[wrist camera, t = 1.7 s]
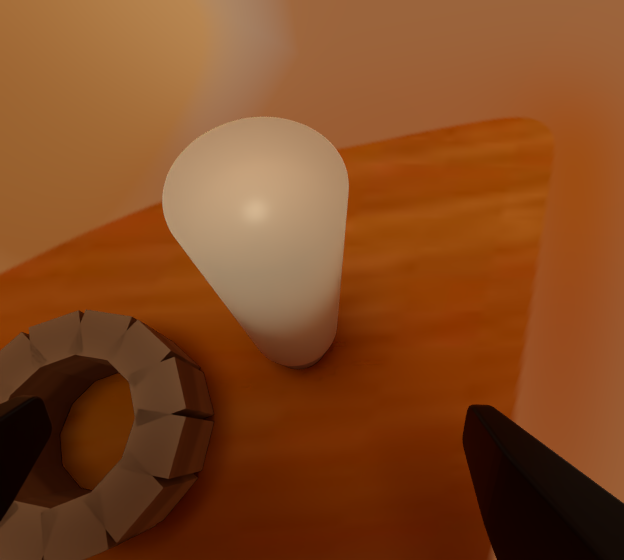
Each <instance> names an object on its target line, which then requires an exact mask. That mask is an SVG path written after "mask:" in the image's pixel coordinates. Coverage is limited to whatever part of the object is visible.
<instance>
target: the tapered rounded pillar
mask: <svg viewBox="0 0 624 560" xmlns="http://www.w3.org/2000/svg"><path fill="white" fill-rule="evenodd" d="M348 189H349V183H348V175H347V171H346V167H345V164H344V162H343V160H342V158H341V156H340V154H339V153H338V151H337V150H336V148H335V147H334V146H333V145H332V144H331V143H330V141H328V140H327V139H326V138H325V137H324V136H323V135H321V134H320V133H318V132H317V131H315V130H314V129H312V128H310V127H308V126H306V125H304V124H301V123H298V122H296V121H292V120H288V119H283V118H276V117H251V118H244V119H239V120H235V121H231V122H228V123H225V124H223V125H220V126H218V127H216V128H213V129H211V130H209V131H208V132H206V133H204V134H203V135H201V136H200V137H198V138H197V139H196V140H194V141H193V142H192V143H191V144H189V145H188V146H187V147H186V148H185V149H184V150H183V151H182V153H181V154H180V155H179V156H178V158H177V159H176V160H175V162H174V163H173V165H172V167H171V169H170V171H169V173H168V175H167V177H166V181H165V184H164V188H163V195H162V206H163V212H164V217H165V220H166V223H167V225H168V227H169V229H170V231H171V233H172V235H173V236H174V237H175V239H176V240H177V241H178V243H179V244H180V245H181V247H182V248H183V249H184V251H185V252H186V253H187V254H188V256H189V257H190V258H191V260H192V261H193V262H194V264H195V265H196V266H197V268H198V269H199V270H200V272H201V273H202V274H203V276H204V277H205V278H206V280H207V281H208V282H209V284H210V285H211V286H212V288H213V289H214V290H215V292H216V293H217V294H218V296H219V297H220V298H221V300H222V301H223V302H224V304H225V305H226V306H227V308H228V309H229V310H230V312H231V313H232V314H233V316H234V317H235V318H236V320H237V321H238V322H239V324H240V325H241V326H242V328H243V329H244V330H245V332H246V333H247V334H248V336H249V337H250V338H251V340H252V341H253V342H254V344H255V345H256V346H257V348H258V349H259V350H260V352H261V353H262V354H263V355H264V356H266V357H267V358H268V359H270V360H271V361H273V362H275V363H278V364H281V365H284V366H286V367H288V368H292V369H304V368H307V367H310V366H312V365H314V364H316V363H317V362H318V361H319V360H320V359H321V358H322V357H323V355H324V354H325V352H326V351H327V350H328V349H329V347H330V346H331V344H332V342H333V340H334V338H335V335H336V331H337V322H338V310H339V298H340V286H341V274H342V262H343V250H344V238H345V226H346V214H347V202H348Z"/></svg>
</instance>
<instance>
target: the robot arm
mask: <svg viewBox="0 0 624 560" xmlns="http://www.w3.org/2000/svg"><path fill="white" fill-rule="evenodd" d="M51 434H52V423H51V420H50V417H49V414H48V411H47V408H46V406H45V403H44V400H43V399H42V398H41V397H39V396H28V395H22V396H17V397H14V398H12V399H10V400H8V401H6V402H3V403H1V404H0V522H1V520H2V519H3V517H4V516H5V514H6V513H7V511H8V510H9V508H10V506H11V505H12V503H13V501H14V500H15V498H16V496H17V495H18V493H19V491H20V489H21V488H22V486H23V484H24V482H25V481H26V479H27V477H28V475H29V474H30V472H31V470H32V468H33V467H34V465H35V463H36V461H37V460H38V458H39V456H40V454H41V453H42V451H43V449H44V447H45V446H46V444H47V442H48V440H49V439H50V437H51ZM463 447H464V451H465V455H466V459H467V463H468V466H469V470H470V474H471V478H472V481H473V485H474V489H475V493H476V496H477V500H478V504H479V508H480V511H481V515H482V518H483V522H484V525H485V528H486V531H487V534H488V537H489V540H490V542H491V545H492V548H493V550H494V553H495V556H496V558H497V560H624V503H622V502H621V501H620V500H618V499H617V498H616V497H614V496H613V495H611V494H610V493H609V492H607V491H606V490H605V489H603V488H602V487H601V486H599V485H598V484H597V483H595V482H594V481H593V480H591V479H590V478H589V477H587V476H586V475H584V474H583V473H582V472H580V471H579V470H578V469H576V468H575V467H574V466H572V465H571V464H570V463H568V462H567V461H565V460H564V459H563V458H562V457H560V456H559V455H558V454H556V453H555V452H553V451H552V450H551V449H549V448H548V447H546V446H545V445H544V444H543V443H541V442H540V441H539V440H537V439H536V438H534V437H533V436H532V435H530V434H529V433H528V432H526V431H525V430H524V429H522V428H521V427H520V426H518V425H517V424H516V423H514V422H513V421H512V420H510V419H509V418H507V417H506V416H505V415H503V414H502V413H501V412H499V411H498V410H497V409H495V408H494V407H492V406H490V405H471V406H469V408H468V410H467V414H466V420H465V425H464V431H463Z"/></svg>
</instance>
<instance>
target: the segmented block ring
mask: <svg viewBox="0 0 624 560" xmlns="http://www.w3.org/2000/svg"><path fill="white" fill-rule="evenodd" d="M200 368H201V367H199V366H198V365H197V364H196V363H195V362H194V361H193V360H192V359H191V358H190V357H189V356H188V355H186V354H185V353H184V352H183V351H182V350H181V349H180V348H179V347H178V346H177V345H176V344H175V343H173V342H172V341H171V340H169V339H168V338H166V337H164V336H163V335H161V334H160V333H158V332H157V331H155V330H153V329H152V328H150V327H149V326H147V325H146V324H144V323H142V322H141V321H139V320H136V319H135V318H133V317H131V316H124V315H117V314H111V313H104V312H98V311H91V310H86V311H85V313H83V312H81V311H76V312H73V313H70V314H67V315H64V316H61V317H58V318H55V319H53V320H50V321H47V322H44V323H41V324H38V325H35V326H32V327H29V334H26V333H23V332H21V333H20V334H19V335H18V336H17V337H15V338H14V339H13V340H12V341H11V342H10V343H9V344H7V345H6V346H5V347H4V348H3V349H2V350H1V351H0V404H1V403H3V402H6V401H8V400H10V399H12V398H14V397H17V396H22V395H28V396H39V397H41V398H42V399H43V400H44V403H45V406H46V408H47V411H48V414H49V417H50V420H51V423H52V434H51V437H50V439H49V440H48V442H47V444H46V446H45V447H44V449H43V451H42V453H41V454H40V456H39V458H38V460H37V461H36V463H35V465H34V467H33V468H32V470H31V472H30V474H29V475H28V477H27V479H26V481H25V482H24V484H23V486H22V488H21V489H20V491H19V493H18V495H17V496H16V498H15V500H14V501H13V503H12V505H11V506H10V508H9V510H8V511H7V513H6V514H5V516H4V517H3V519H2V520H1V522H0V560H84V559H87V558H89V557H91V556H94V555H96V554H98V553H101V552H103V551H106V550H108V549H110V548H112V547H114V546H116V545H118V544H120V543H122V542H124V541H126V540H128V539H130V538H132V537H134V536H136V535H138V534H140V533H142V532H144V531H146V530H148V529H150V528H152V527H154V526H156V524H157V523H159V522H161V521H163V520H164V519H165V517H166V516H167V515H168V514H169V513H170V511H171V510H172V509H173V508H174V507H175V505H176V504H177V503H178V502H179V501H180V499H181V498H182V497H183V496H184V495H185V493H186V492H187V491H188V490H189V488H190V487H191V486H192V485H193V484H194V482H195V481H196V480H197V479H198V478H197V476H196V475H195V474H194V473H195V472H199V471H202V468H203V464H204V460H205V456H206V452H207V448H208V444H209V440H210V436H211V432H212V428H213V424H214V422H213V421H207V420H202V419H204V418H207V417H209V416H212V415H214V412H213V408H212V404H211V400H210V396H209V392H208V388H207V384H206V380H205V376H204V373H203V372H201V371H199V369H200ZM118 372H119V373H120V374H121V375H122V376H123V377H124V378H125V379H126V380H127V381H128V382H129V384H130V390H131V396H132V402H133V408H134V414H135V420H134V423H133V426H132V429H131V432H130V435H129V438H128V441H127V444H126V447H125V450H124V453H123V456H122V459H121V460H120V461H119V462H118V463H117V464H116V465H115V467H114V468H113V469H112V470H111V471H110V472H109V473H108V474H107V475H106V476H105V477H104V479H103V480H102V481H101V482H100V483H99V484H98V485H97V486H96V487H95V488H94V490H93V491H92V490H87V489H82V488H80V487H79V486H78V485H77V483H76V482H75V481H74V480H73V478H72V477H71V476H70V475H69V474H68V472H67V471H66V470H65V469H64V467H63V466H62V459H61V447H60V436H59V435H60V432H61V430H62V427H63V425H64V422H65V420H66V417H67V415H68V412H69V410H70V407H71V405H72V403H73V402H74V401H75V400H76V399H77V398H78V397H79V396H80V395H81V394H82V393H83V392H84V391H85V390H86V389H87V388H88V387H89V386H90V385H91V384H92V383H93V382H94V381H96V380H99V379H102V378H104V377H107V376H110V375H113V374H115V373H118Z"/></svg>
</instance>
